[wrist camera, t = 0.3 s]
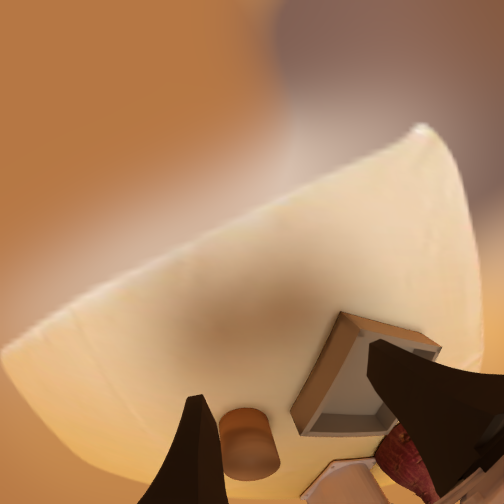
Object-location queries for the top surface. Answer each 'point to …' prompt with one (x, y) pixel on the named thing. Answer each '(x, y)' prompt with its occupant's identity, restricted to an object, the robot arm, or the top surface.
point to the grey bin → (352, 381)
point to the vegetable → (405, 464)
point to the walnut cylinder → (247, 445)
